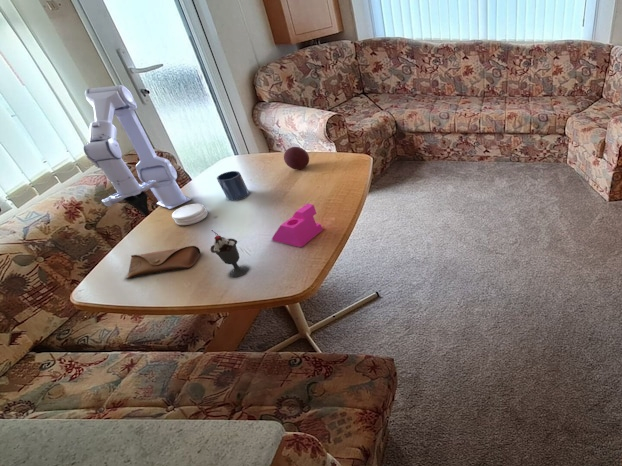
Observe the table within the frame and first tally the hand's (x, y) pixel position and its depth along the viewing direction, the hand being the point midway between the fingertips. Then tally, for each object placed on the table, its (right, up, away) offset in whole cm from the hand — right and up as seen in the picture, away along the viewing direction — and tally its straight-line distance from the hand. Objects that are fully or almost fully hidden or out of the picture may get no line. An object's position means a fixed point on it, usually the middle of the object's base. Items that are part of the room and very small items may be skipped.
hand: (146, 214), depth 126 cm
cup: (+13, +9, +26) cm, 30 cm away
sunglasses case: (+14, -17, -9) cm, 24 cm away
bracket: (+49, -7, +3) cm, 50 cm away
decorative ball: (+28, +23, +45) cm, 58 cm away
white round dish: (+5, -1, +13) cm, 14 cm away
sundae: (+39, -18, -12) cm, 45 cm away
